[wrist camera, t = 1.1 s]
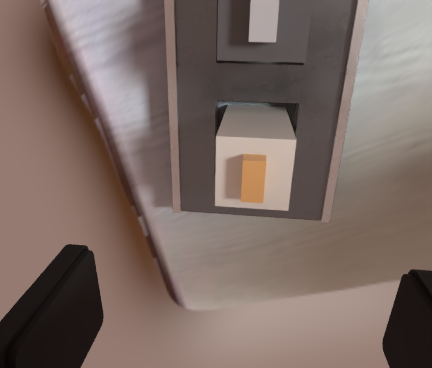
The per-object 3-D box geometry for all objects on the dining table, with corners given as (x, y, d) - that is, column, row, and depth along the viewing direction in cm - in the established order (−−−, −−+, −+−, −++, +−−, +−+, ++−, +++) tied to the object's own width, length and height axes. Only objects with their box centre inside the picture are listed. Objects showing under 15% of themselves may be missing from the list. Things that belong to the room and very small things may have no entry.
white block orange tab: (285, 106, 25) (298, 146, 17) (280, 160, 27) (289, 219, 19) (227, 104, 26) (214, 142, 17) (226, 158, 27) (212, 214, 19)
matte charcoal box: (298, -21, 22) (321, -47, 14) (290, 51, 24) (308, 64, 15) (231, -21, 22) (216, -47, 14) (229, 49, 24) (214, 62, 16)
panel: (410, -311, 16) (432, -360, 14) (324, 208, 28) (329, 223, 26) (162, -293, 17) (149, -336, 15) (179, 198, 29) (173, 212, 27)
